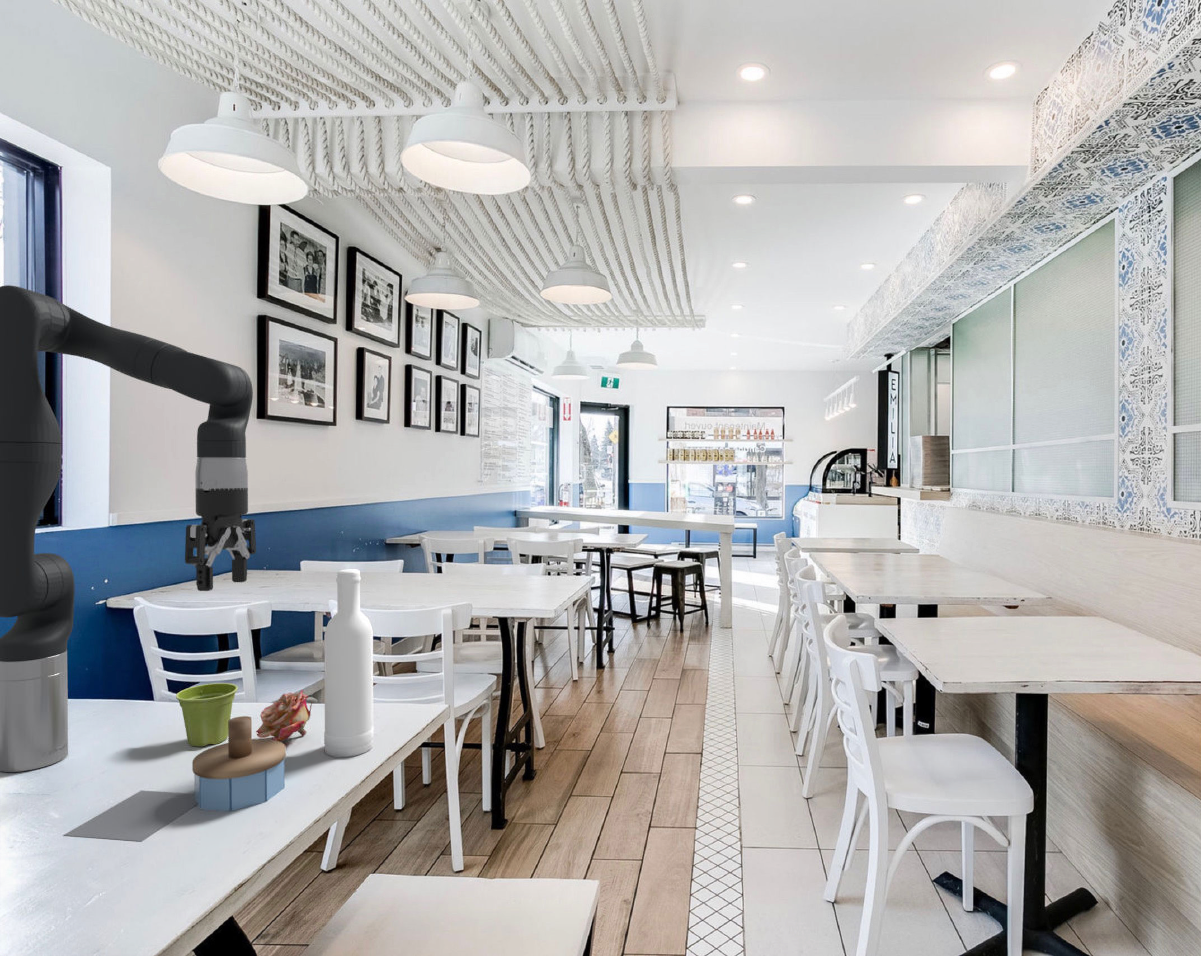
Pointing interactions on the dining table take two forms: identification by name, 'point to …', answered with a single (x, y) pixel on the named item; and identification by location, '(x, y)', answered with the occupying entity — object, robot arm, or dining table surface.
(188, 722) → the plant pot
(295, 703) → the flower
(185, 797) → the mat
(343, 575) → the bottle
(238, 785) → the bowl
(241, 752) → the lid
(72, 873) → the dining table surface
